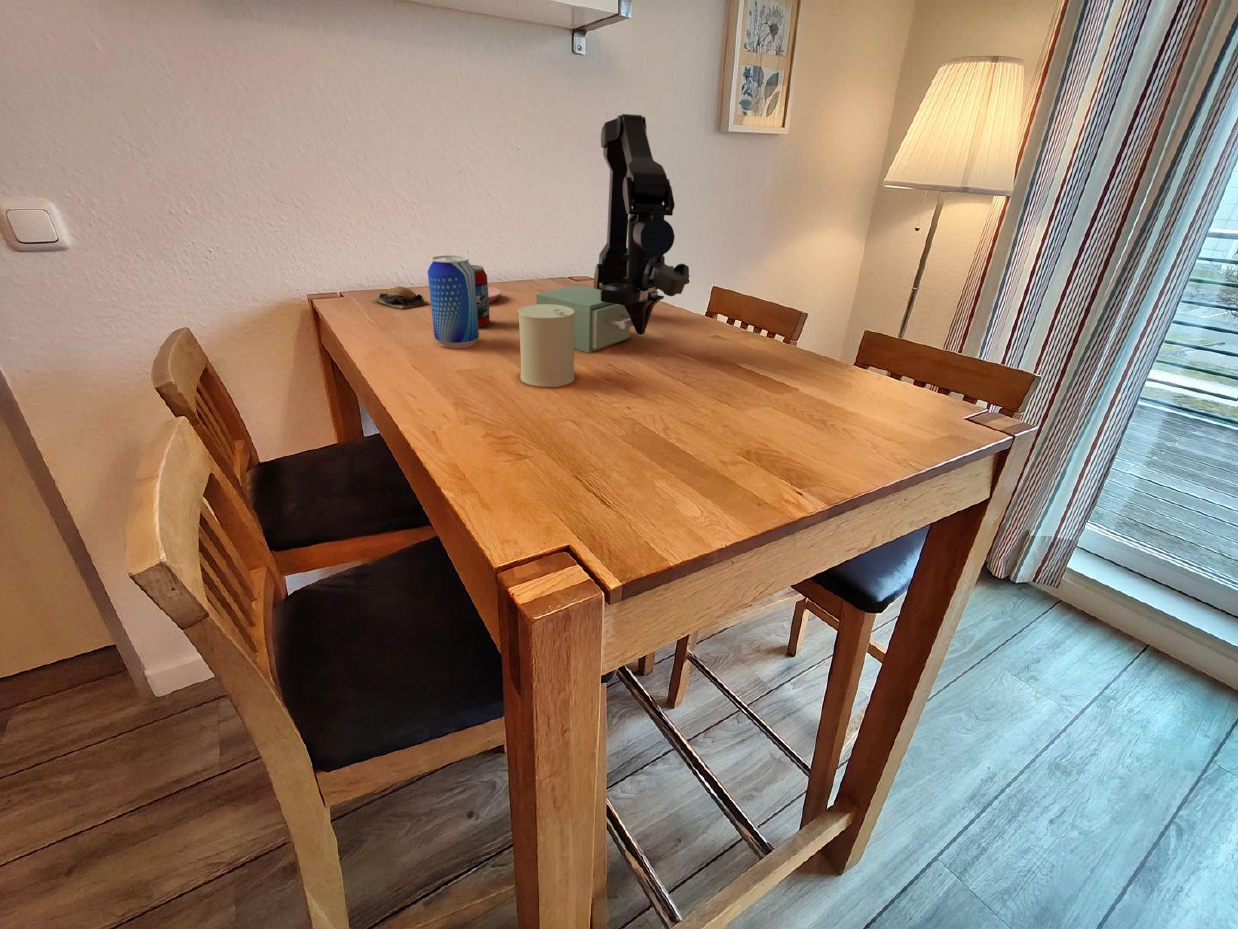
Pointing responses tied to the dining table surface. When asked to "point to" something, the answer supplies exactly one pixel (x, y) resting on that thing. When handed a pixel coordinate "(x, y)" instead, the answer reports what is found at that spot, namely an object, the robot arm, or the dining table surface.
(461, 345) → the beer can
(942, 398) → the dining table surface
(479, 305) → the beverage can
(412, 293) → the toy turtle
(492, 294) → the plate
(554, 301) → the cabinet
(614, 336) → the drawer
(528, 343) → the can
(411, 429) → the dining table surface
